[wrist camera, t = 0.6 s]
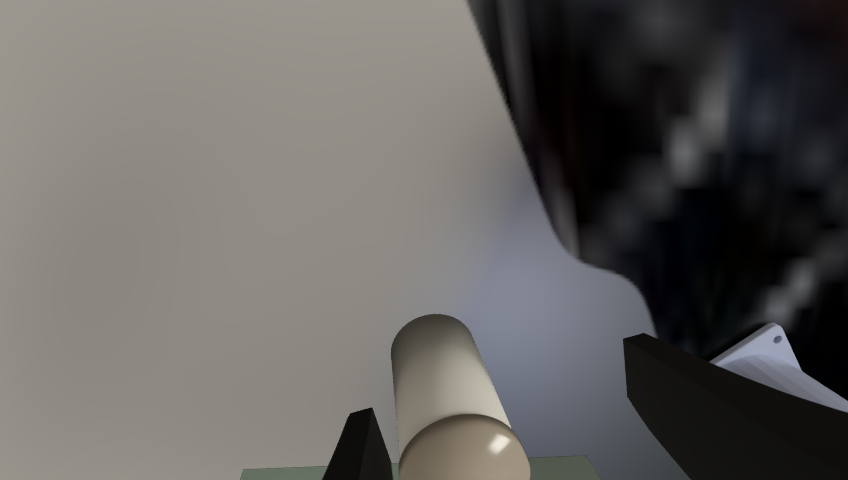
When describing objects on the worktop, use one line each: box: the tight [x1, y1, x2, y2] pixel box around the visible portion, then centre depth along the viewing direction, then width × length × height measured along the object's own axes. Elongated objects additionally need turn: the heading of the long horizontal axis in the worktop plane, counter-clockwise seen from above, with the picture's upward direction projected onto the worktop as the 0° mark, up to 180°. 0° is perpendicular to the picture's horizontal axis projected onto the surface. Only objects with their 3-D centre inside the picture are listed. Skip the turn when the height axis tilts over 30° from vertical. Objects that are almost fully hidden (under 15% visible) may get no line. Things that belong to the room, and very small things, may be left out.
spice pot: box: [391, 314, 530, 480], centre depth 18 cm, size 5×5×8 cm
